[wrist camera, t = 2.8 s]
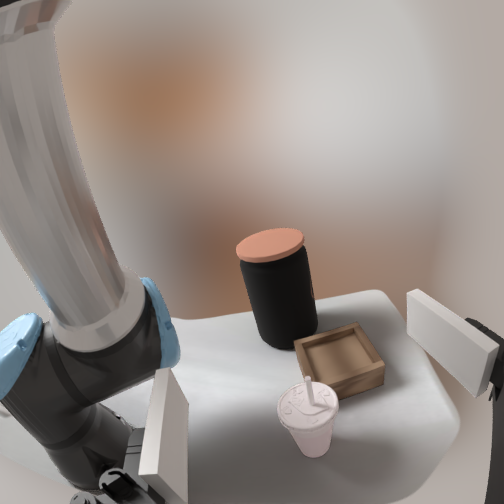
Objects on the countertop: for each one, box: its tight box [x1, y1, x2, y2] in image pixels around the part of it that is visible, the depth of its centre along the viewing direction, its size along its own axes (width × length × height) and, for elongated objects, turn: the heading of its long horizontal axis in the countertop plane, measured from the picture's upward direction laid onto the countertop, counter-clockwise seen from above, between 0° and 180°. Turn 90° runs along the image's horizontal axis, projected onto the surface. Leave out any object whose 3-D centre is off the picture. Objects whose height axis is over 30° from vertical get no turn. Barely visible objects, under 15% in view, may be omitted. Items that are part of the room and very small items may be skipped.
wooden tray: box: [294, 322, 385, 400], centre depth 41 cm, size 10×10×4 cm
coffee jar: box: [236, 228, 318, 349], centre depth 50 cm, size 11×11×18 cm
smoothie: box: [277, 376, 339, 458], centre depth 29 cm, size 6×6×14 cm
